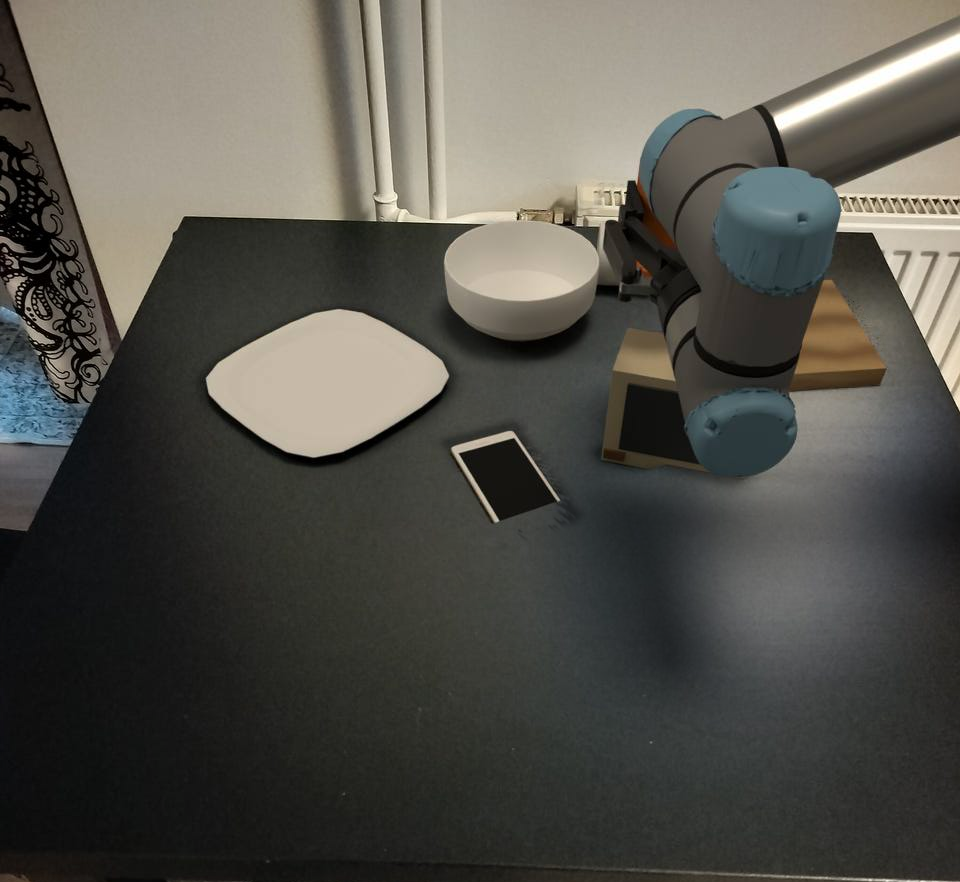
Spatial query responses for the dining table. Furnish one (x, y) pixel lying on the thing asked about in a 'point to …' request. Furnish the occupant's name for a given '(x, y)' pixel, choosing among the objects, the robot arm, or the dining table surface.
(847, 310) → the brown wooden board
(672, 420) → the television
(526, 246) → the bowl
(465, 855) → the dining table surface
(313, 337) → the plate
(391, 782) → the dining table surface
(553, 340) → the dining table surface
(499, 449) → the cell phone
